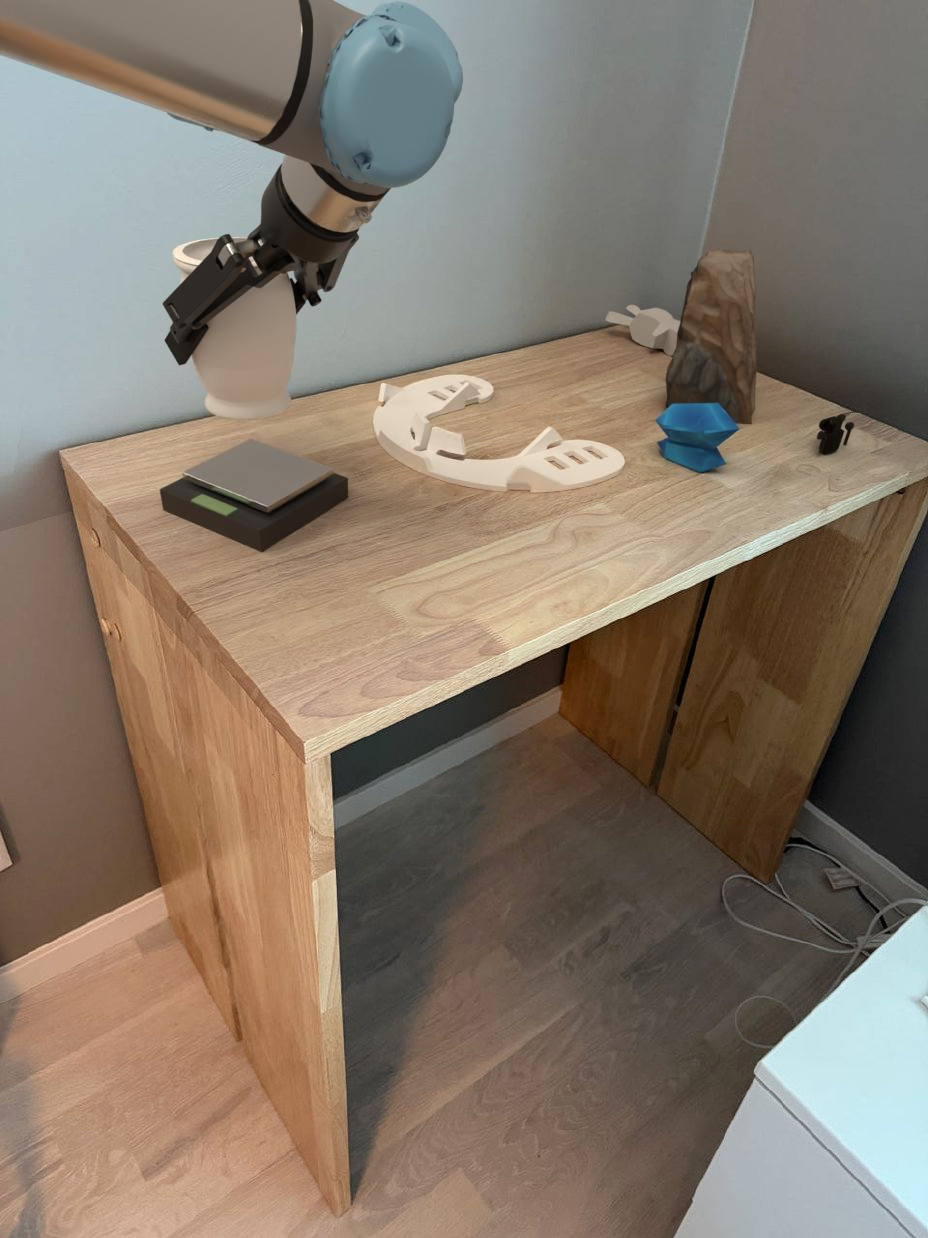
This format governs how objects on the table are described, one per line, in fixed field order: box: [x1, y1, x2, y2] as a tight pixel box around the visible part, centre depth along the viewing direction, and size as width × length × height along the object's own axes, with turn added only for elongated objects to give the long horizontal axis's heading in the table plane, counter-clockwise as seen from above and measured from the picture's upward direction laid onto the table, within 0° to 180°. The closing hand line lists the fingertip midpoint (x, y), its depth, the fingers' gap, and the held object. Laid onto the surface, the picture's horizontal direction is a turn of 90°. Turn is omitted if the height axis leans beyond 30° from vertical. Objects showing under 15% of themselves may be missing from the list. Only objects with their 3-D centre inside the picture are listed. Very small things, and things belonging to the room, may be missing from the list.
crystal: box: [654, 403, 741, 474], centre depth 106 cm, size 7×9×12 cm
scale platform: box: [181, 438, 335, 513], centre depth 94 cm, size 12×10×1 cm
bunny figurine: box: [605, 304, 681, 357], centre depth 142 cm, size 10×5×15 cm
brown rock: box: [664, 248, 758, 425], centre depth 118 cm, size 13×13×20 cm
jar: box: [171, 236, 297, 422], centre depth 84 cm, size 11×10×15 cm
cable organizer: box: [372, 374, 626, 494], centre depth 111 cm, size 35×24×3 cm
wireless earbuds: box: [816, 413, 855, 455], centre depth 113 cm, size 7×2×5 cm, turn 123°
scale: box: [159, 472, 350, 553], centre depth 95 cm, size 14×14×3 cm
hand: (224, 338), depth 87 cm, fingers closed on jar, 10 cm apart
